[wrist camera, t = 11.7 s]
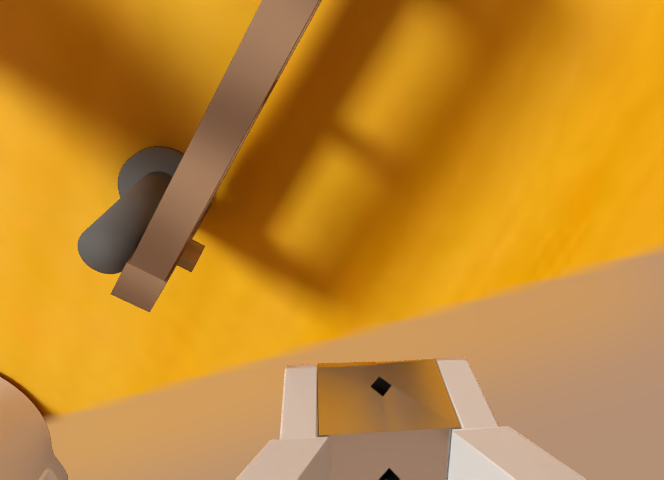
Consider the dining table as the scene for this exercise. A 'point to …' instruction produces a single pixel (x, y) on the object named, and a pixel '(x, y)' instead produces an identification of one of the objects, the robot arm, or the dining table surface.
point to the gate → (214, 149)
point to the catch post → (129, 209)
